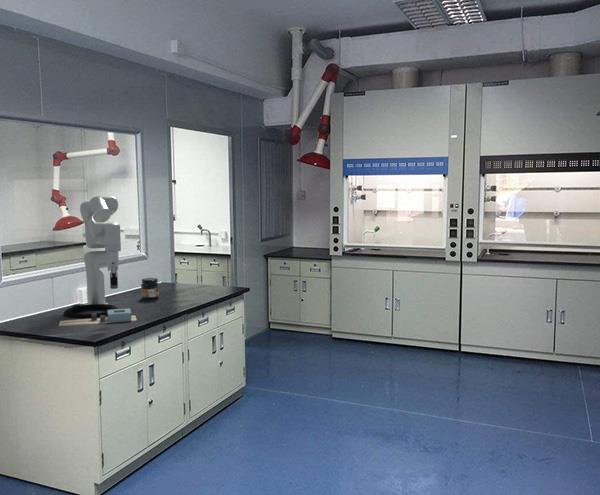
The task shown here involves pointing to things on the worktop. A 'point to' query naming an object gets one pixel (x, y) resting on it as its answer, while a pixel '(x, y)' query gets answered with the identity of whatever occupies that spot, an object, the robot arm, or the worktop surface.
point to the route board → (89, 320)
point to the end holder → (119, 315)
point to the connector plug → (113, 285)
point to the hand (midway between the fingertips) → (114, 284)
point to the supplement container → (149, 289)
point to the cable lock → (77, 308)
